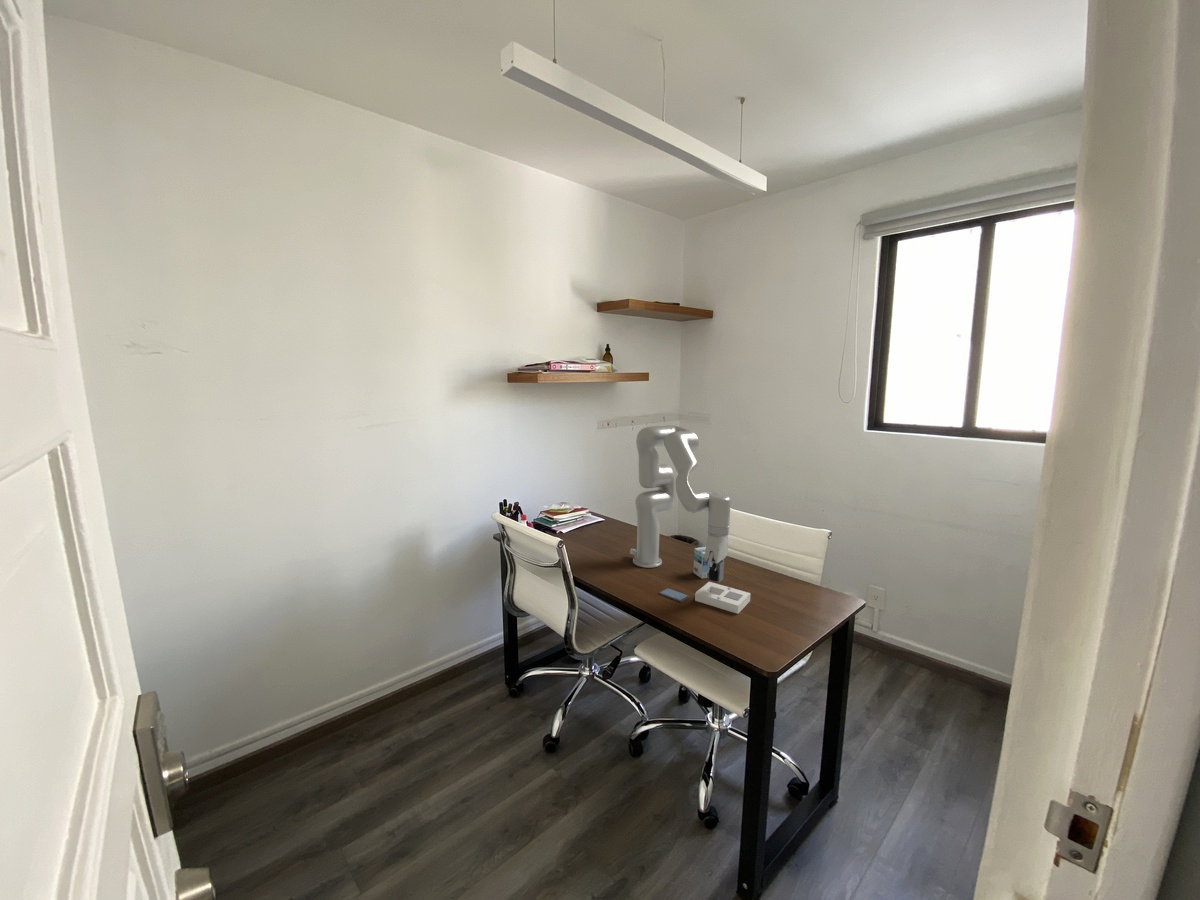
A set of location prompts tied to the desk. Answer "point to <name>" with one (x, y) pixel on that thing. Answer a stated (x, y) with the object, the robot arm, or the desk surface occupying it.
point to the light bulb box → (700, 563)
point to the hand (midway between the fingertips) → (715, 577)
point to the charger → (720, 571)
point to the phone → (674, 595)
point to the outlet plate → (723, 597)
